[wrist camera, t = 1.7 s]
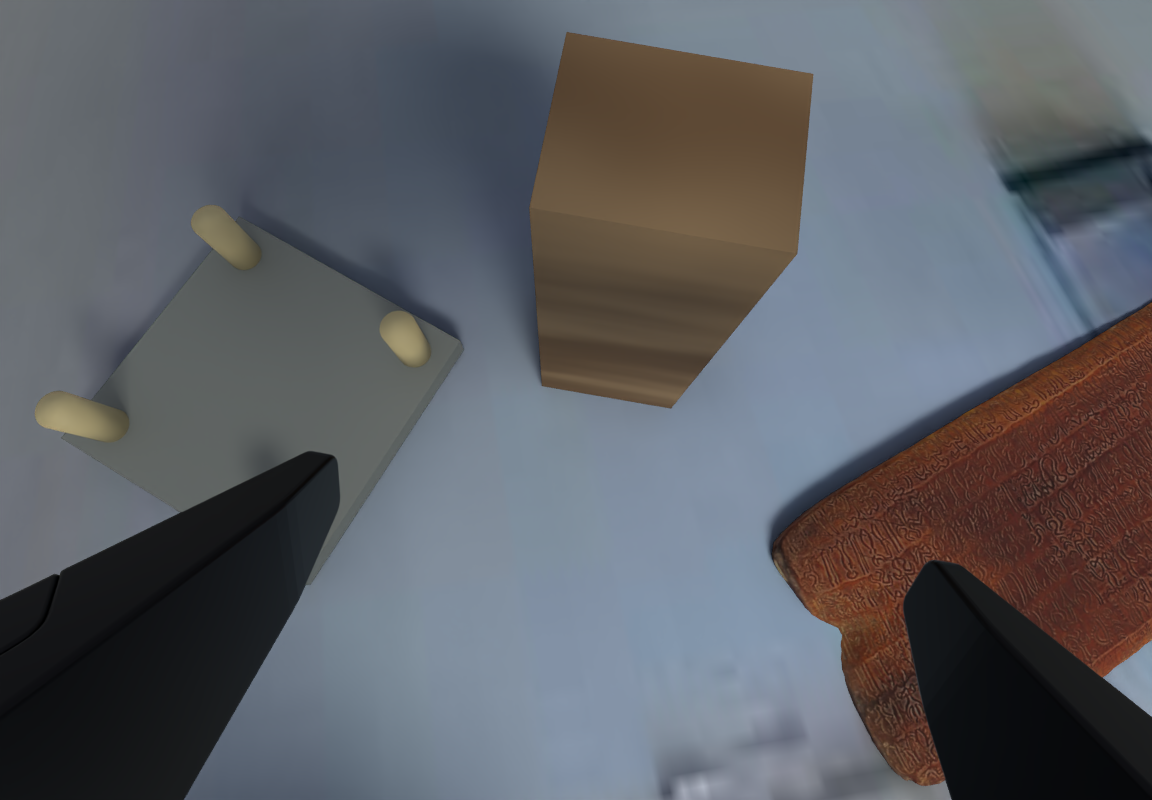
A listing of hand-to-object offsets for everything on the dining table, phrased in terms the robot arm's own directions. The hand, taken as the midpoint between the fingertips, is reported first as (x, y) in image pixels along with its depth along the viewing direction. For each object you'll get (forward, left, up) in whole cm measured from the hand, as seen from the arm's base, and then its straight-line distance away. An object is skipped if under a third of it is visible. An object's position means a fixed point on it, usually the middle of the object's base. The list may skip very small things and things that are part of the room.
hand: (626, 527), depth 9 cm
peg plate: (-1, +13, -13) cm, 18 cm away
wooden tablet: (+12, -16, -14) cm, 25 cm away
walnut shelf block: (+7, +3, -13) cm, 15 cm away
